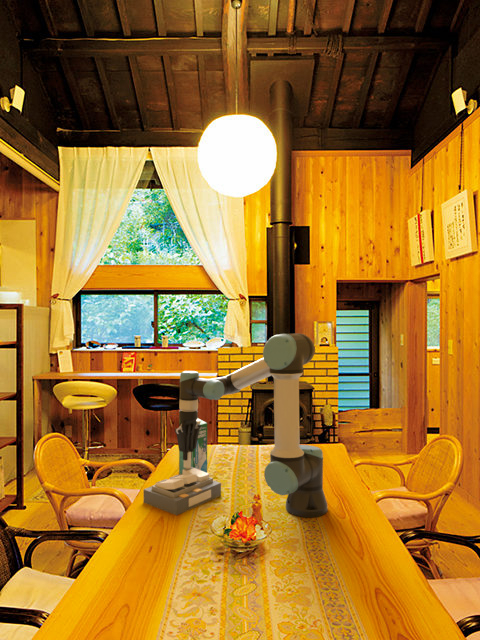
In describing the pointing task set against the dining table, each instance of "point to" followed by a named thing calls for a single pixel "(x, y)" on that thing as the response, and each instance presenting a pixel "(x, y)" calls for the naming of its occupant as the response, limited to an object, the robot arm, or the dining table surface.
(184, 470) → the rocker
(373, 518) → the dining table surface
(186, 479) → the rocker
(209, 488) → the switch unit
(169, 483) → the rocker
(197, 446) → the milk carton
